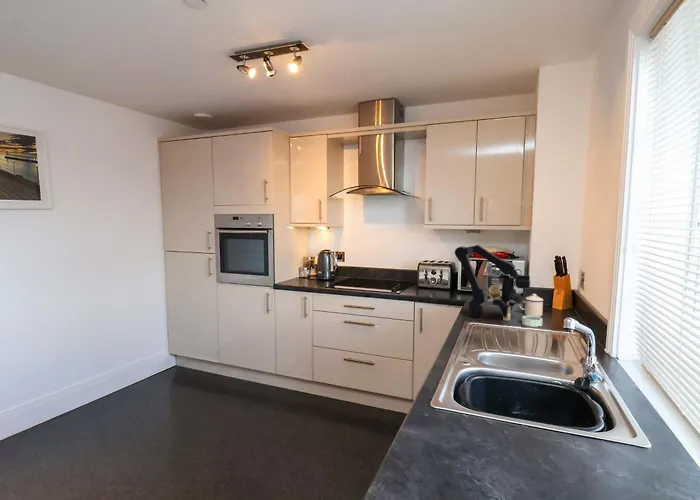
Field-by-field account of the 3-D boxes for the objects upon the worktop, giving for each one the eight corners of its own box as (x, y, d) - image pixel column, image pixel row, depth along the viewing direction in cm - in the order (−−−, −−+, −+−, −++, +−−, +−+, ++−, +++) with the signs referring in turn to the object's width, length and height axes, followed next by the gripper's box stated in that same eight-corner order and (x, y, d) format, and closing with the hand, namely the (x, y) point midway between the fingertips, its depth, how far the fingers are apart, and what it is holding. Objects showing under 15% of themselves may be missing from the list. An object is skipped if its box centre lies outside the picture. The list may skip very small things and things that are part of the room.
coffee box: (487, 301, 237) (487, 276, 236) (485, 299, 243) (485, 274, 242) (502, 302, 236) (503, 276, 234) (499, 299, 242) (500, 275, 240)
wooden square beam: (503, 319, 195) (503, 304, 194) (505, 319, 197) (506, 304, 196) (507, 320, 193) (508, 305, 192) (510, 320, 195) (510, 305, 194)
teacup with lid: (541, 313, 209) (542, 292, 207) (544, 317, 200) (545, 296, 199) (517, 311, 212) (518, 291, 211) (519, 315, 204) (520, 294, 203)
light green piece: (518, 323, 189) (519, 317, 189) (527, 320, 195) (527, 314, 194) (536, 327, 182) (537, 321, 182) (545, 324, 188) (545, 318, 187)
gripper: (513, 291, 181) (512, 323, 183) (532, 287, 193) (530, 316, 194) (492, 288, 190) (491, 318, 191) (511, 284, 202) (510, 312, 203)
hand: (506, 316), depth 195 cm, fingers closed on wooden square beam, 2 cm apart
